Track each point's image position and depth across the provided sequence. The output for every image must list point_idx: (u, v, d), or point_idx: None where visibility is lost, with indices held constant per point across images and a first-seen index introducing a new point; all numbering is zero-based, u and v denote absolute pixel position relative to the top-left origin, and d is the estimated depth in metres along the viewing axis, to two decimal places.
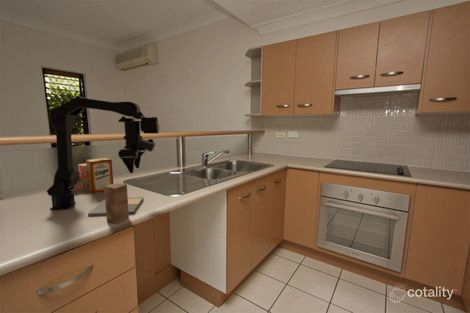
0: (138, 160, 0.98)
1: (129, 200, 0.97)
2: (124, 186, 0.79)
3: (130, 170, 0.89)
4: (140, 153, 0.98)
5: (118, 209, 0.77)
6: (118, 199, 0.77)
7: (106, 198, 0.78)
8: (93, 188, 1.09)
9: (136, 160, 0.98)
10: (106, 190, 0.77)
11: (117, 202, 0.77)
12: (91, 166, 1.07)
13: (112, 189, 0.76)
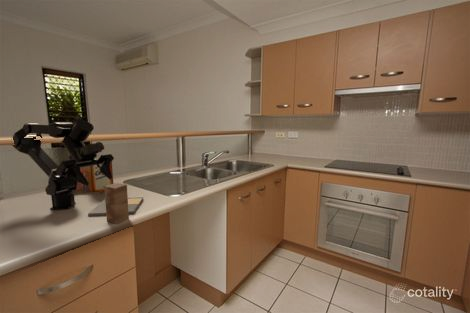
0: (107, 170, 0.86)
1: (129, 200, 0.97)
2: (124, 186, 0.79)
3: (84, 183, 0.77)
4: (104, 163, 0.87)
5: (118, 209, 0.77)
6: (118, 199, 0.77)
7: (106, 198, 0.78)
8: (93, 188, 1.09)
9: (105, 172, 0.87)
10: (106, 190, 0.77)
11: (117, 202, 0.77)
12: (91, 166, 1.07)
13: (112, 189, 0.76)
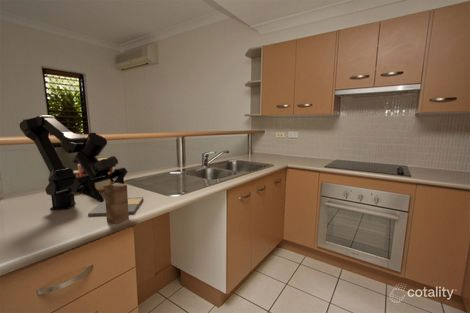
0: None
1: (129, 200, 0.97)
2: (124, 186, 0.79)
3: (99, 199, 0.75)
4: (118, 177, 0.85)
5: (118, 209, 0.77)
6: (118, 199, 0.77)
7: (106, 198, 0.78)
8: None
9: None
10: (106, 190, 0.77)
11: (117, 202, 0.77)
12: None
13: (112, 189, 0.76)
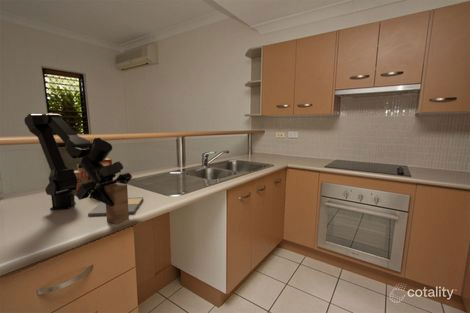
0: None
1: (129, 200, 0.97)
2: (124, 186, 0.79)
3: (109, 204, 0.76)
4: None
5: (118, 209, 0.78)
6: (118, 199, 0.77)
7: None
8: None
9: None
10: (106, 190, 0.77)
11: (117, 202, 0.77)
12: None
13: (112, 189, 0.76)
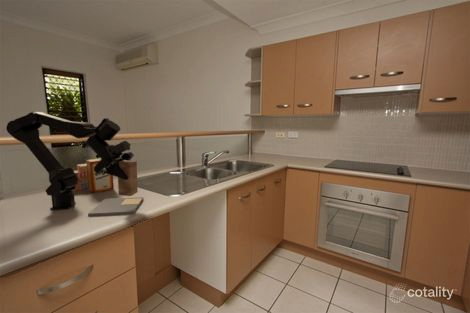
0: None
1: (129, 200, 0.97)
2: (135, 162, 0.88)
3: (124, 177, 0.85)
4: None
5: (131, 182, 0.87)
6: (131, 173, 0.86)
7: None
8: (93, 188, 1.09)
9: None
10: (119, 165, 0.85)
11: (131, 175, 0.86)
12: (91, 166, 1.07)
13: (127, 164, 0.85)
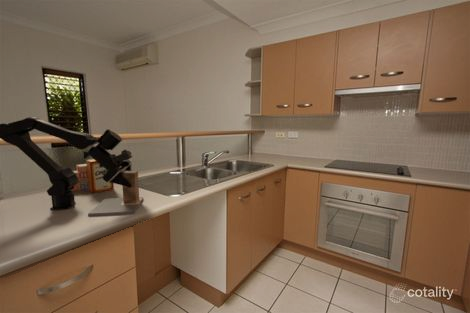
0: None
1: None
2: (137, 172, 0.96)
3: (128, 185, 0.90)
4: (128, 168, 0.98)
5: (136, 190, 0.94)
6: (135, 182, 0.94)
7: None
8: (93, 188, 1.09)
9: None
10: (124, 176, 0.91)
11: (135, 184, 0.93)
12: (91, 166, 1.07)
13: (132, 174, 0.92)
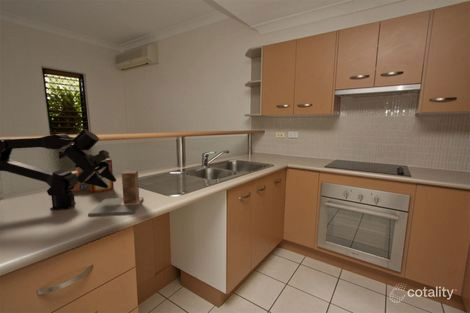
0: (110, 175, 0.97)
1: None
2: (137, 172, 0.96)
3: (104, 186, 0.88)
4: (106, 168, 0.97)
5: (136, 190, 0.94)
6: (135, 182, 0.94)
7: (124, 183, 0.92)
8: (93, 188, 1.09)
9: (109, 176, 0.97)
10: (124, 176, 0.91)
11: (135, 184, 0.93)
12: None
13: (132, 174, 0.92)
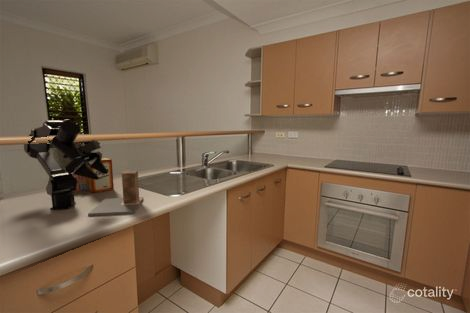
0: (101, 166, 0.92)
1: None
2: (137, 172, 0.96)
3: (94, 177, 0.83)
4: (97, 159, 0.92)
5: (136, 190, 0.94)
6: (135, 182, 0.94)
7: (124, 183, 0.92)
8: (93, 188, 1.09)
9: (100, 168, 0.92)
10: (124, 176, 0.91)
11: (135, 184, 0.93)
12: None
13: (132, 174, 0.92)
